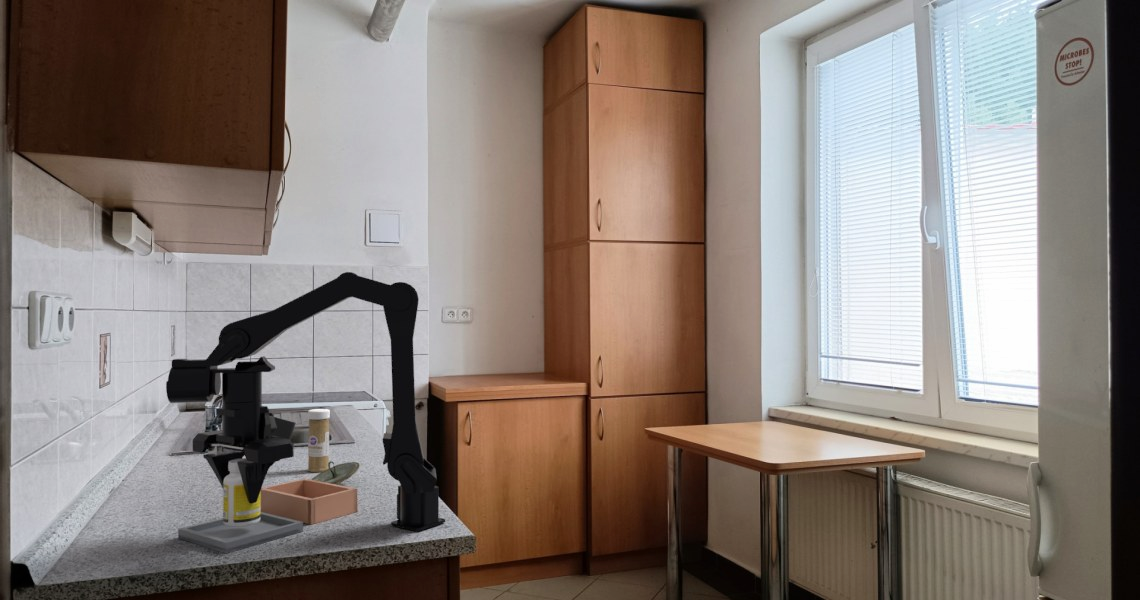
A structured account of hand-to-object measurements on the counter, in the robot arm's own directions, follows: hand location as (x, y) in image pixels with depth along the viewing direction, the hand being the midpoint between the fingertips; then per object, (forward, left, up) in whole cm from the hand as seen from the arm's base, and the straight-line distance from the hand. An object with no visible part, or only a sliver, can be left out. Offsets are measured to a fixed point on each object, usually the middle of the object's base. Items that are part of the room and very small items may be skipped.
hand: (242, 500), depth 118 cm
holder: (+3, -14, -5) cm, 16 cm away
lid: (+16, -30, -6) cm, 35 cm away
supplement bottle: (0, 0, -4) cm, 4 cm away
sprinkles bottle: (+30, -37, -6) cm, 48 cm away
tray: (0, 0, -5) cm, 5 cm away
